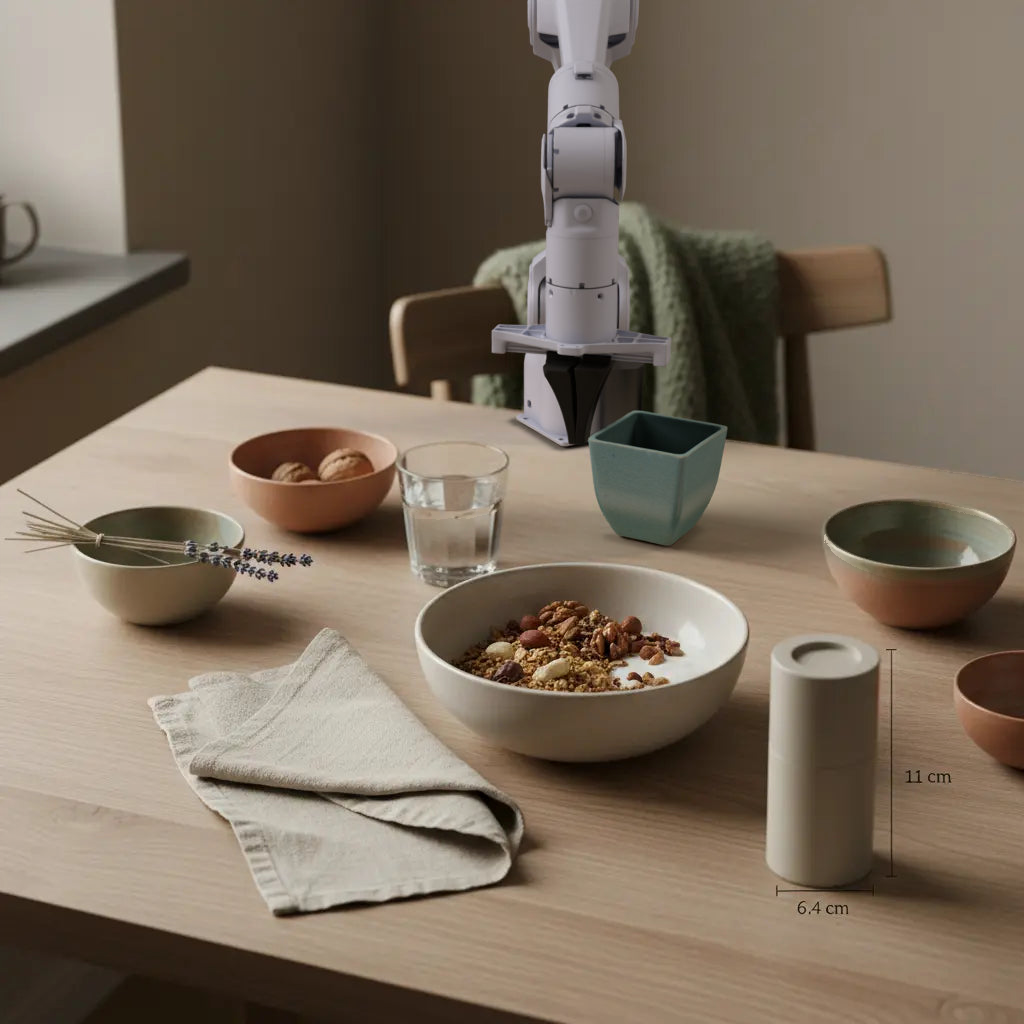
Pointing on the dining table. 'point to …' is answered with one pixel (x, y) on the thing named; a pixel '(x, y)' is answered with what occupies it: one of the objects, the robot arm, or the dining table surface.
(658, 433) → the flower pot
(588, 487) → the dining table surface
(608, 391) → the cylinder
